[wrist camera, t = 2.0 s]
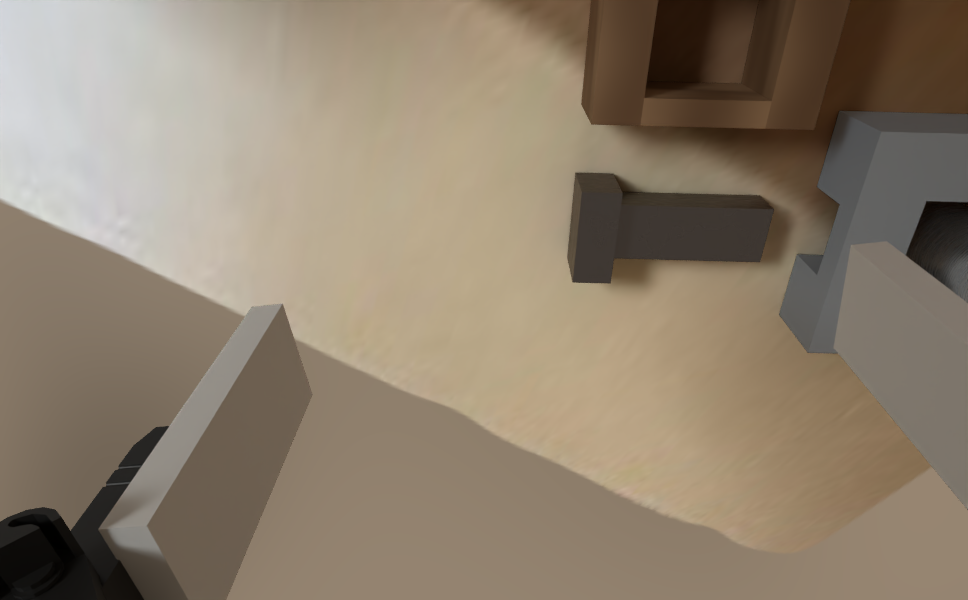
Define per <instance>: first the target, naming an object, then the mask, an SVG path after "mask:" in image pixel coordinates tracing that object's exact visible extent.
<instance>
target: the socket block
mask: <svg viewBox="0 0 968 600" xmlns="http://www.w3.org/2000/svg"><path fill="white" fill-rule="evenodd" d="M817 187H818V188H819V189H820V190H822V191H823V192H824V193H826V194H827V195H828V196H829V197H831V198H832V199H833V200H835V201H836V202H837V203H839V204H840V205H839V209H838V212H837V215H836V218H835V221H834V224H833V227H832V230H831V234H830V237H829V240H828V243H827V246H826V249H825V252H824V255H803V254H797V256H796V259H795V263H794V266H793V270H792V273H791V276H790V280H789V283H788V286H787V290H786V293H785V297H784V300H783V303H782V307H781V310H780V313H779V315H780V317H781V318H782V319H783V321H784V322H785V323H786V325H787V326H788V327H789V329H790V330H791V331H792V333H793V334H794V335H795V337H796V338H797V339H798V341H799V342H800V343H801V345H802V346H803V347H804V349H805V350H806V351H807V353H837V354H838V352H837V351H836V350H835V349H834V348H833V347H834V341H835V335H836V329H837V324H838V318H839V312H840V306H841V300H842V294H843V288H844V282H845V277H846V271H847V265H848V259H849V253H850V247H851V245H855V244H865V243H874V242H884V241H887V242H888V243H890V244H891V245H892V246H894V247H895V248H896V249H898V250H899V251H900V252H902V253H903V254H904V255H906V253H907V250H908V248H909V245H910V242H911V240H912V237H913V235H914V232H915V230H916V227H917V225H918V222H919V219H920V217H921V214H922V212H923V209H924V207H925V204H926V201H942V202H968V114H943V113H904V112H864V111H839V114H838V117H837V121H836V124H835V128H834V131H833V134H832V138H831V141H830V144H829V148H828V151H827V155H826V158H825V161H824V165H823V168H822V171H821V175H820V178H819V182H818V185H817Z"/></svg>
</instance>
